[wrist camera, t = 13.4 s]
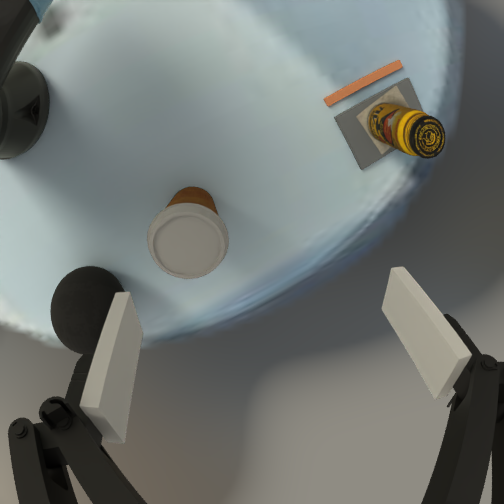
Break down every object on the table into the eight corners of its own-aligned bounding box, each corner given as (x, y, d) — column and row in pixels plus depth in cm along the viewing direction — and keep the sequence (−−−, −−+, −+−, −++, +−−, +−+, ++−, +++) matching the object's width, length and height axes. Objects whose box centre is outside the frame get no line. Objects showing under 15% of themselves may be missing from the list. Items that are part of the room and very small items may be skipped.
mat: (333, 117, 41) (335, 117, 41) (406, 77, 39) (408, 78, 38) (360, 168, 46) (362, 169, 45) (427, 128, 43) (429, 128, 42)
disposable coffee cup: (221, 171, 44) (224, 202, 34) (228, 232, 49) (233, 277, 38) (155, 180, 43) (136, 213, 33) (166, 239, 48) (155, 286, 38)
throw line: (323, 98, 40) (324, 99, 40) (398, 59, 37) (399, 59, 37) (327, 106, 40) (328, 106, 40) (401, 67, 38) (402, 66, 37)
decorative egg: (77, 238, 46) (39, 294, 33) (145, 267, 50) (126, 331, 37) (64, 293, 51) (35, 352, 38) (125, 318, 55) (108, 382, 42)
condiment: (355, 116, 41) (398, 130, 31) (395, 85, 39) (445, 92, 28) (381, 154, 44) (425, 179, 34) (418, 123, 42) (467, 140, 32)
